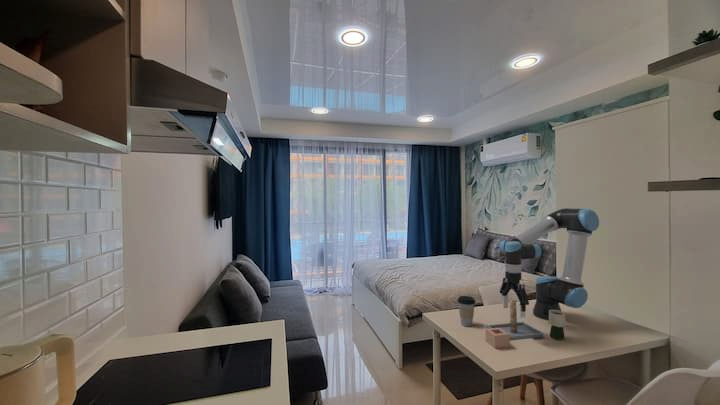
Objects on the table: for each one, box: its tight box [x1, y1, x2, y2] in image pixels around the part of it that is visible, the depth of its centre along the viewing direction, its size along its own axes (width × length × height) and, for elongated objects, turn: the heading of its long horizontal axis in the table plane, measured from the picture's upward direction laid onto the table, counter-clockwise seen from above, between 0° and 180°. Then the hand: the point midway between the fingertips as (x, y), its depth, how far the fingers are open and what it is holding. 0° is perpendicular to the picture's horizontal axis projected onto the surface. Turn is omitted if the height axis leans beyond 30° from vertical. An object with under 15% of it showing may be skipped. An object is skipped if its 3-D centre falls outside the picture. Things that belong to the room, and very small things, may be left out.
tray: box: [485, 321, 544, 341], centre depth 161 cm, size 22×15×2 cm
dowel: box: [509, 299, 518, 333], centre depth 161 cm, size 3×3×16 cm
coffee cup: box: [457, 295, 476, 328], centre depth 173 cm, size 9×9×15 cm
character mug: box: [548, 310, 567, 340], centre depth 155 cm, size 11×7×13 cm, turn 110°
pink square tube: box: [485, 328, 511, 350], centre depth 148 cm, size 8×8×7 cm
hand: (513, 312), depth 160 cm, fingers open, 13 cm apart
